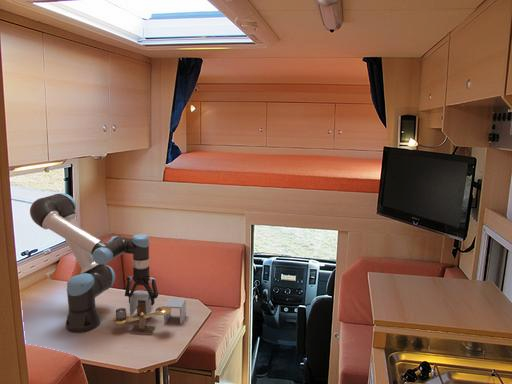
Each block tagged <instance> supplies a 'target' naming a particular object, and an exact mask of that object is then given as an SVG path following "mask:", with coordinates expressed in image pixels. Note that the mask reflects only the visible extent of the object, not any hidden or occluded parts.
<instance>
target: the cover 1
mask: <svg viewBox="0 0 512 384" xmlns="http://www.w3.org/2000/svg"><path fill="white" fill-rule="evenodd" d="M149 299H150V296H149V294H148V292H147V291H144V290H136V289H135V291H134V293H133V295H132V296H131V297H130V303H129V316H133V314H134V313H135V312H136V311H137V306H138V300H142V301H146V314H151V312H149Z"/></svg>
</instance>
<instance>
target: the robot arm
mask: <svg viewBox="0 0 512 384" xmlns="http://www.w3.org/2000/svg"><path fill="white" fill-rule="evenodd" d="M76 209H77V204H76V200H75V199H74V197H72V196H71V195H69V194H67V193H64V192H63V193H61V192H60V193H55V194H51V195H47V196H45V197H40V198H37V199H36V200H35V201H34V202H32V203H31V206H30V208H29V215H30V217H31V219H32V221H33V222H34V223H35V224H36V225H37V226H39V227H40V228H42V229H44V230H50V231H51V232H52V233H54V234H56V235H58V236H59V237H61V238H63V239H64V240H65V242H66V243H67V245H68V247H69V249H70V251H71V252H72V254H73V256H74V257H75V260H76V261H77V263H78V265H79V267H80V268H81V271H80V274H75V275H74V276H72V277H71V278H69V279H68V281H67V283H66V293H67V294H66V295H67V304H68V306H67V307H68V313H67V317H66V321H65V329H66V330H67V331H68V332H71V333H85V332H89V331H92V330H94V329H95V328H97V327H99V326H100V324H101V316H100V314H99V311H98V310H97V307H96V297H98V296H100V295H101V294H102V293H104V292H105V291H107V290H109V289H110V288H111V287H112V286H113V285H114V283H115V282H116V273H115V270H114V269H113V268H112V267H111V266H109V265H107V263H110V262H111V261H112V260H115V259H116V258H118V257H119V256H121V255H123V254H125V255H126V254H128V255H132V267H133V268H132V270H133V271H132V276H131V275H128V276H127V278H126V287H125V293H124V297H128V303H129V304H130V297H131V296H132V295H133V293H134V292H135V291H136V289H137V288H138V287H137V286H143V287H144V288H145V290H147V292H148V294H149V296H150V299H149V312H150V313H151V312H152V311H153V310H154V305H155V299H157V298H158V296H159V292H158V287H157V283H156V281H157V278H156V277H151V276H150V238H149V237H150V236H148V235H147V234H144V233H142V234H141V233H140V234H139V233H138V234H135V235H133V236H132V237H127V236H126V237H125V236H121V235H117V236H112V237H110V239H109V240H108V242H105V241H103V240H102V239H100V238H98V237H96V236H95V235H93V234H92V233H90V232H88V231H86V230H85V229H83V228H81V227H80V226H81V225H79V223H78V221H77V219H76V217H77V213H76ZM132 281H134V284H133V285H132ZM149 281H150V282H149ZM150 283H151V285H150ZM131 286H132V288H131Z"/></svg>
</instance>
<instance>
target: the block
mask: <svg viewBox="0 0 512 384" xmlns="http://www.w3.org/2000/svg"><path fill="white" fill-rule="evenodd" d="M141 312H143V313H144V315H146V303H141V302H140V303H139V304H138V306H137V309H136V317H137V316H140V313H141ZM148 319H149V318H146V321H147V320H148Z"/></svg>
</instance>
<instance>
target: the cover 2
mask: <svg viewBox="0 0 512 384" xmlns="http://www.w3.org/2000/svg"><path fill="white" fill-rule="evenodd" d="M186 302H187V300H186V298H172V297H168V299H167V300H166V301H165V303H164V305H163V306H167V307H170V308H171V309H179V325H182V324H183V323H184V321H185V319H186V317H187V303H186ZM171 315H172V313H169V314H167V315H163V323H166V324H167V322H168V320H169V319H170V317H171Z"/></svg>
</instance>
